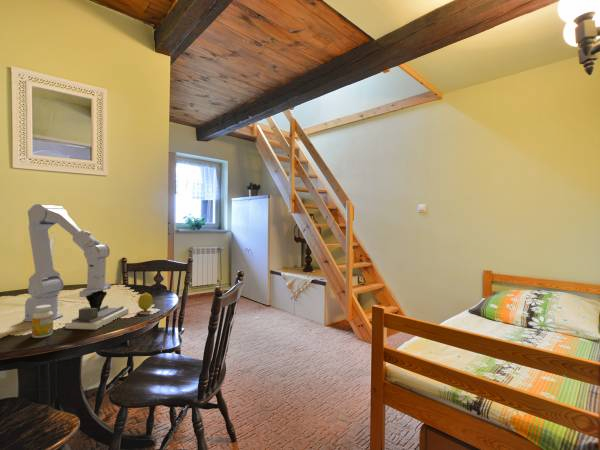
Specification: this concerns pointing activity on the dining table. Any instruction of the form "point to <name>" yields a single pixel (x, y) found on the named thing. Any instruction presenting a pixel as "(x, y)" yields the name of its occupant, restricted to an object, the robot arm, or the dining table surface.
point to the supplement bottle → (42, 321)
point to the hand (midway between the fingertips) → (95, 311)
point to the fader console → (98, 318)
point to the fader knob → (88, 313)
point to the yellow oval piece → (145, 301)
